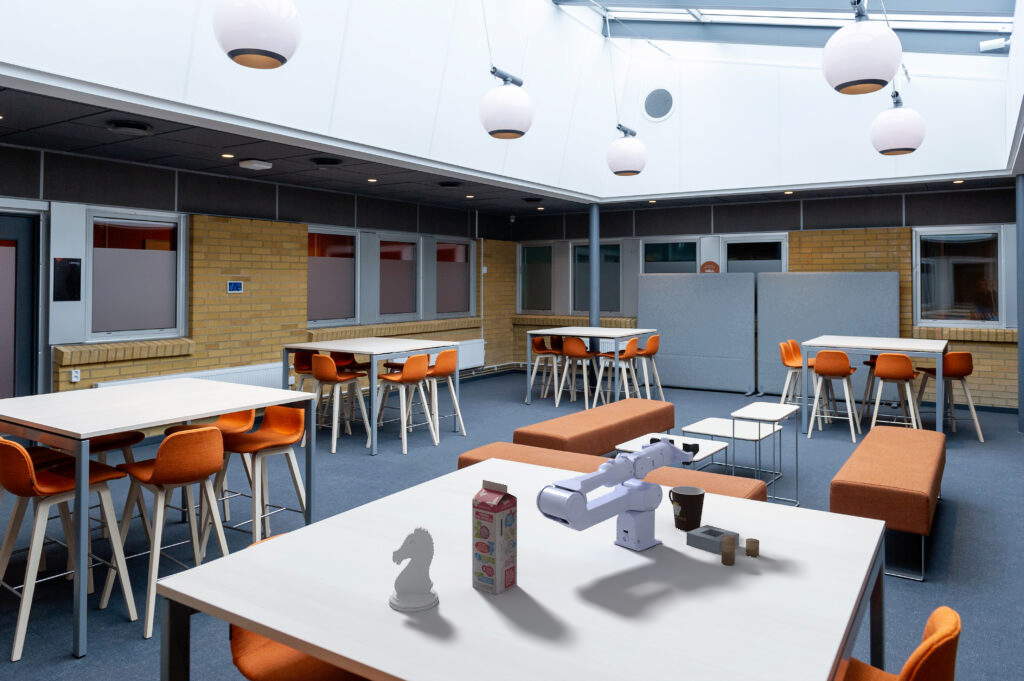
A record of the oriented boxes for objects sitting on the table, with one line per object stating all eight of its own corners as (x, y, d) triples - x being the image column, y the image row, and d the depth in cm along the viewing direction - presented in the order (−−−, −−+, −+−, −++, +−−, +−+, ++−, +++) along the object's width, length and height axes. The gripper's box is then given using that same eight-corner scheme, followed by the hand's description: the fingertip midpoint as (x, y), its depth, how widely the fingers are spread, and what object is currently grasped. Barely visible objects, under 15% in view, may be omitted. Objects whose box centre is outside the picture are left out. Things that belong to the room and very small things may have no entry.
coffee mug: (708, 532, 183) (708, 494, 183) (674, 532, 184) (675, 494, 183) (697, 519, 195) (697, 483, 194) (665, 518, 195) (666, 482, 195)
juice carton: (492, 577, 154) (492, 476, 153) (516, 584, 150) (517, 481, 149) (472, 586, 149) (472, 482, 148) (496, 594, 145) (496, 488, 143)
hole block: (718, 554, 168) (719, 541, 168) (686, 544, 175) (686, 532, 174) (738, 545, 174) (739, 533, 174) (706, 536, 181) (707, 524, 181)
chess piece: (392, 591, 146) (391, 519, 146) (440, 591, 147) (439, 519, 146) (385, 612, 137) (384, 535, 136) (436, 611, 137) (436, 535, 136)
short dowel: (754, 558, 166) (755, 543, 165) (743, 554, 168) (743, 540, 168) (761, 555, 168) (761, 540, 167) (749, 551, 170) (750, 537, 170)
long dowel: (730, 566, 160) (730, 540, 160) (718, 563, 162) (719, 537, 162) (737, 563, 162) (737, 537, 162) (725, 559, 164) (726, 534, 164)
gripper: (678, 446, 173) (709, 434, 182) (630, 437, 183) (662, 426, 192) (679, 474, 173) (709, 461, 182) (631, 464, 184) (663, 452, 193)
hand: (685, 445), depth 187 cm, fingers open, 7 cm apart
